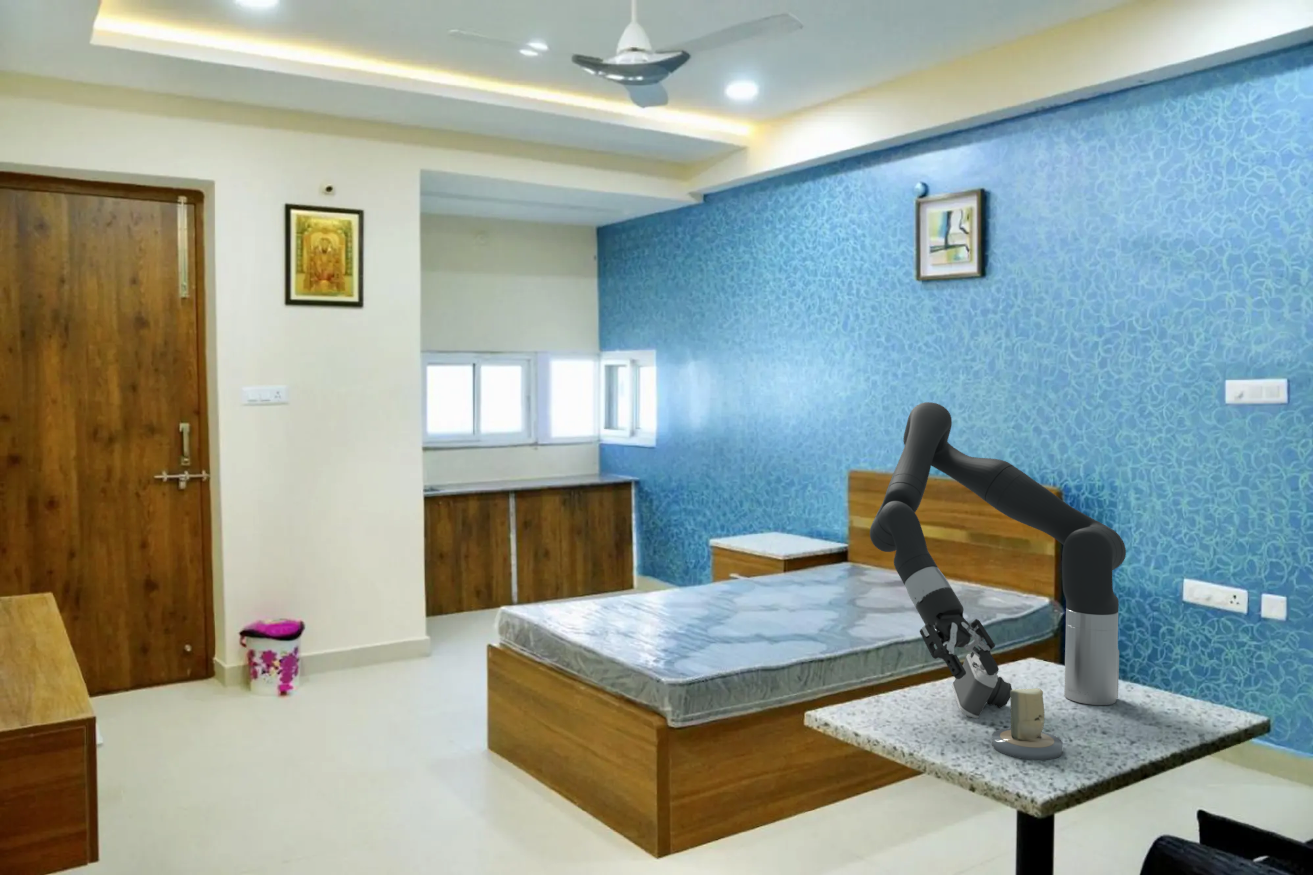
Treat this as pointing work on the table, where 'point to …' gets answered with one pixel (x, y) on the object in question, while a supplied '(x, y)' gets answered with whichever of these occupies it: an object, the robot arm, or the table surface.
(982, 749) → the table surface
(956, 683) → the camera
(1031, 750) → the coaster
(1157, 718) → the table surface
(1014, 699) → the off-white rounded piece
